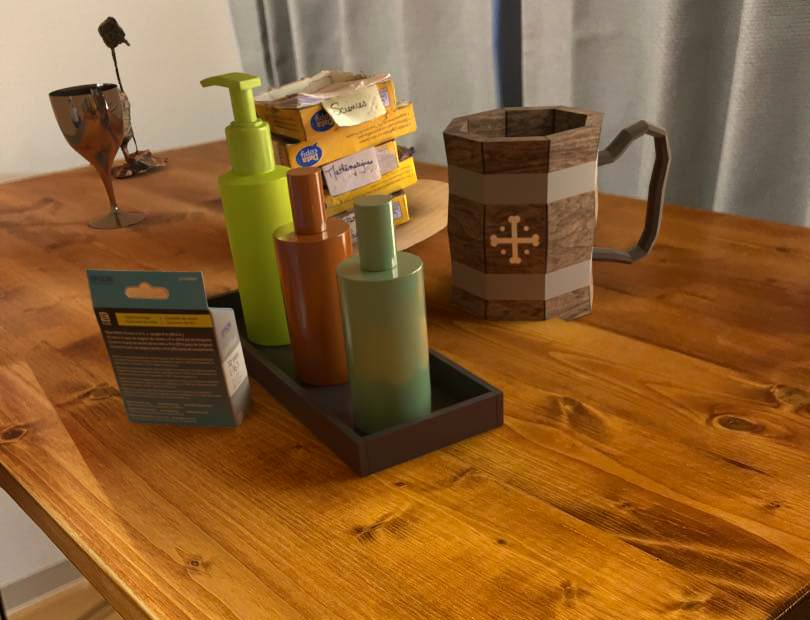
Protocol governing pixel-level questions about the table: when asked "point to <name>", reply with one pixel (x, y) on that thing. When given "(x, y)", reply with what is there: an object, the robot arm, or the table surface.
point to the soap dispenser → (254, 211)
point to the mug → (535, 209)
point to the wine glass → (95, 137)
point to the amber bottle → (312, 280)
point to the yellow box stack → (354, 148)
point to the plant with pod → (126, 110)
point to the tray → (333, 415)
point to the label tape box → (171, 349)
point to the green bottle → (383, 323)
